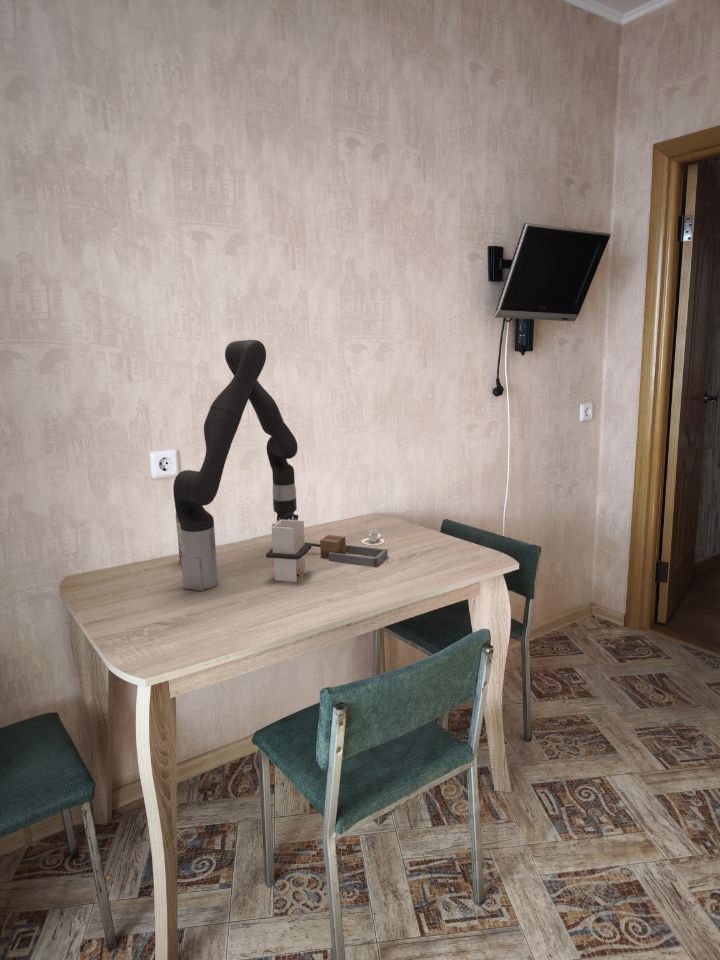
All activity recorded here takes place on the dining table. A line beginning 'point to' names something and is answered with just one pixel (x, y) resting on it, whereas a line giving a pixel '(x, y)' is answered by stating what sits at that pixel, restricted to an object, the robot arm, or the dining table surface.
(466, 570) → the dining table surface
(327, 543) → the walnut block
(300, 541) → the white collared box
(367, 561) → the tray
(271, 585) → the dining table surface
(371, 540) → the teacup and saucer
